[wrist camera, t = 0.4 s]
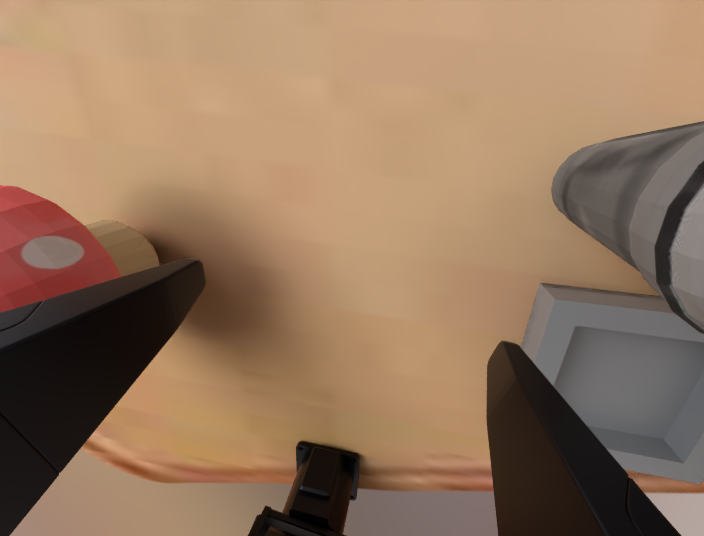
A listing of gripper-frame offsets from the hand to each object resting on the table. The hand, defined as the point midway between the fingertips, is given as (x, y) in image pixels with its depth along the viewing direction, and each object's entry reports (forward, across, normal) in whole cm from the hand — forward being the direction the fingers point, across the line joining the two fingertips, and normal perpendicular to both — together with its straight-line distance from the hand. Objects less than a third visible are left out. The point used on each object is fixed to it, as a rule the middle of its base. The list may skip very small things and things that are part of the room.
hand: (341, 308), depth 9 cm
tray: (+12, -18, +10) cm, 24 cm away
